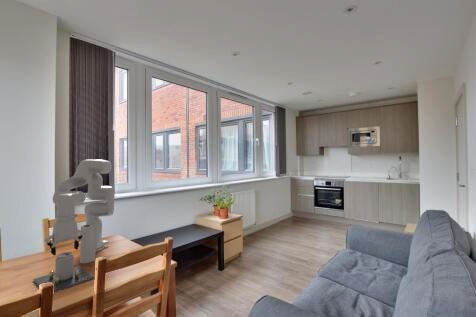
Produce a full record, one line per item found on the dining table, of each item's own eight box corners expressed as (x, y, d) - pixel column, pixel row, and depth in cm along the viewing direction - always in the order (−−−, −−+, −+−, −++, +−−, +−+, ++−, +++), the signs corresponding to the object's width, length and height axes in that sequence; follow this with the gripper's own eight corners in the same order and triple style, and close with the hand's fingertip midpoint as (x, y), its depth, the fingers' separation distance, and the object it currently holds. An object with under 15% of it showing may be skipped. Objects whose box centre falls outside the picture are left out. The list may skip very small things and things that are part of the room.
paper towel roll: (77, 262, 145) (78, 226, 145) (87, 258, 151) (88, 223, 151) (85, 264, 142) (86, 227, 142) (95, 261, 148) (96, 225, 148)
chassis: (78, 267, 139) (78, 259, 139) (93, 278, 126) (94, 270, 126) (33, 281, 123) (33, 272, 123) (46, 295, 111) (46, 285, 111)
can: (76, 275, 127) (77, 252, 127) (62, 282, 120) (62, 257, 120) (66, 273, 130) (66, 250, 130) (51, 279, 122) (52, 255, 122)
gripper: (81, 213, 134) (81, 245, 134) (42, 220, 120) (41, 254, 121) (87, 216, 129) (87, 248, 130) (47, 223, 116) (46, 259, 116)
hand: (65, 251), depth 125 cm, fingers open, 9 cm apart
